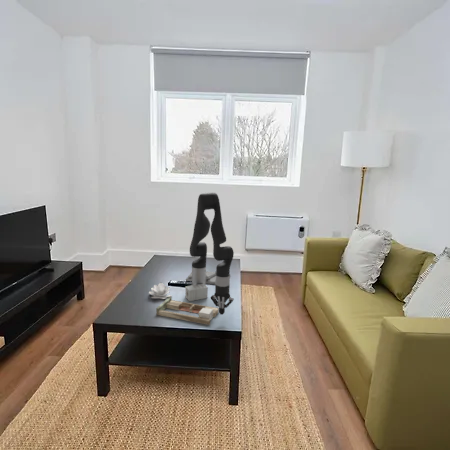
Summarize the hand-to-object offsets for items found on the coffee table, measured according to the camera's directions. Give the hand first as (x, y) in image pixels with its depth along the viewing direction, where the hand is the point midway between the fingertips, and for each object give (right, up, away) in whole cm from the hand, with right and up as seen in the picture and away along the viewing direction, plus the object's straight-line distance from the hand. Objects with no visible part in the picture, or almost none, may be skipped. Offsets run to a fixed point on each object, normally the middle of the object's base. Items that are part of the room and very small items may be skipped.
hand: (221, 313), depth 170 cm
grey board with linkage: (-11, +7, +64) cm, 65 cm away
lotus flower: (-39, +2, +30) cm, 50 cm away
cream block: (-9, -4, +4) cm, 10 cm away
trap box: (-19, -2, +9) cm, 22 cm away
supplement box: (-22, +5, +27) cm, 35 cm away
